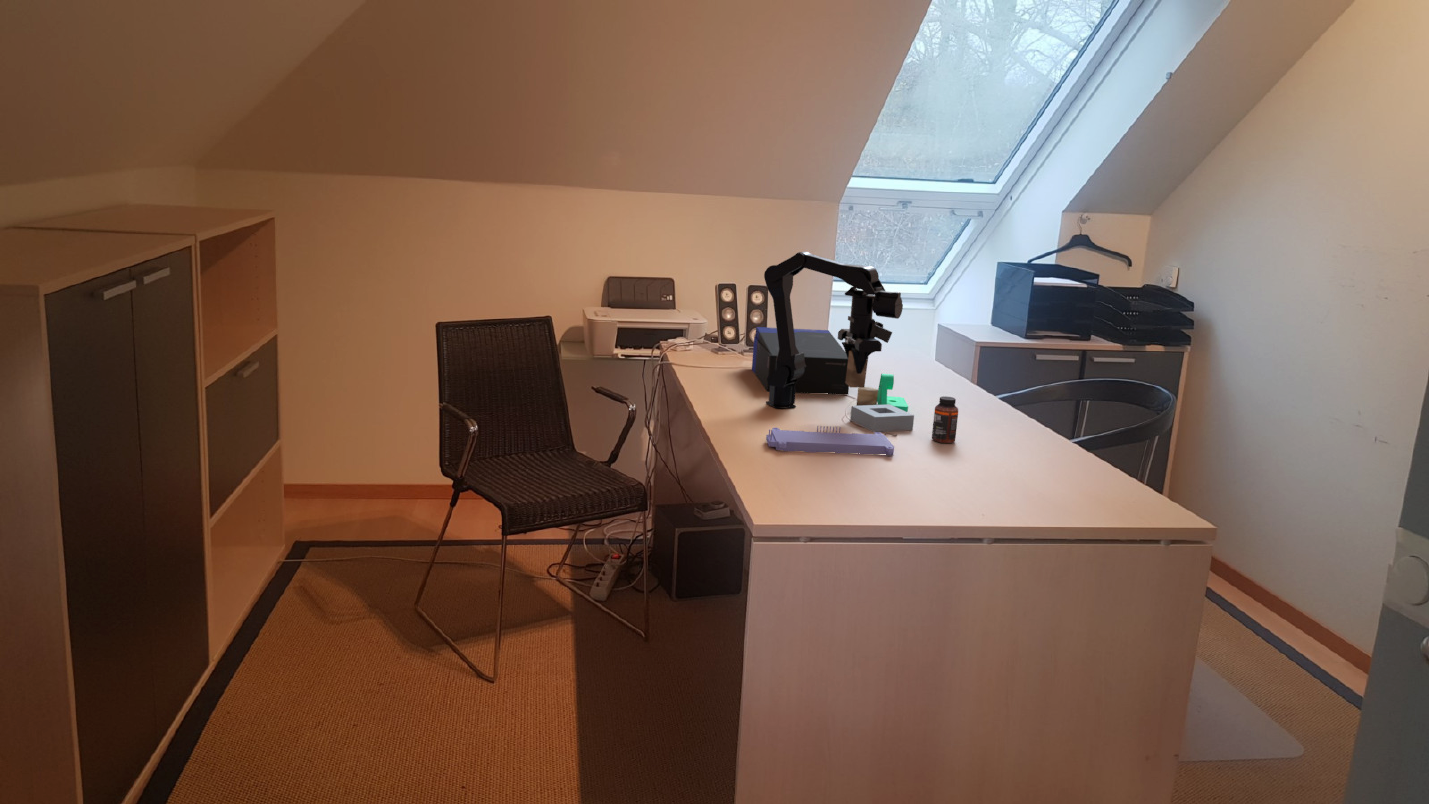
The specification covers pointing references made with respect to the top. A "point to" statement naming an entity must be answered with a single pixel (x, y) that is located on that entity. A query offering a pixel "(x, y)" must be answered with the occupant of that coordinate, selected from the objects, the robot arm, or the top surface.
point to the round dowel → (867, 396)
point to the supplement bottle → (945, 420)
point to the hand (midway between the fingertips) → (856, 371)
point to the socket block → (882, 418)
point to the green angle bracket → (883, 399)
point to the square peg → (855, 373)
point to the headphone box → (820, 358)
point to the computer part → (829, 442)
